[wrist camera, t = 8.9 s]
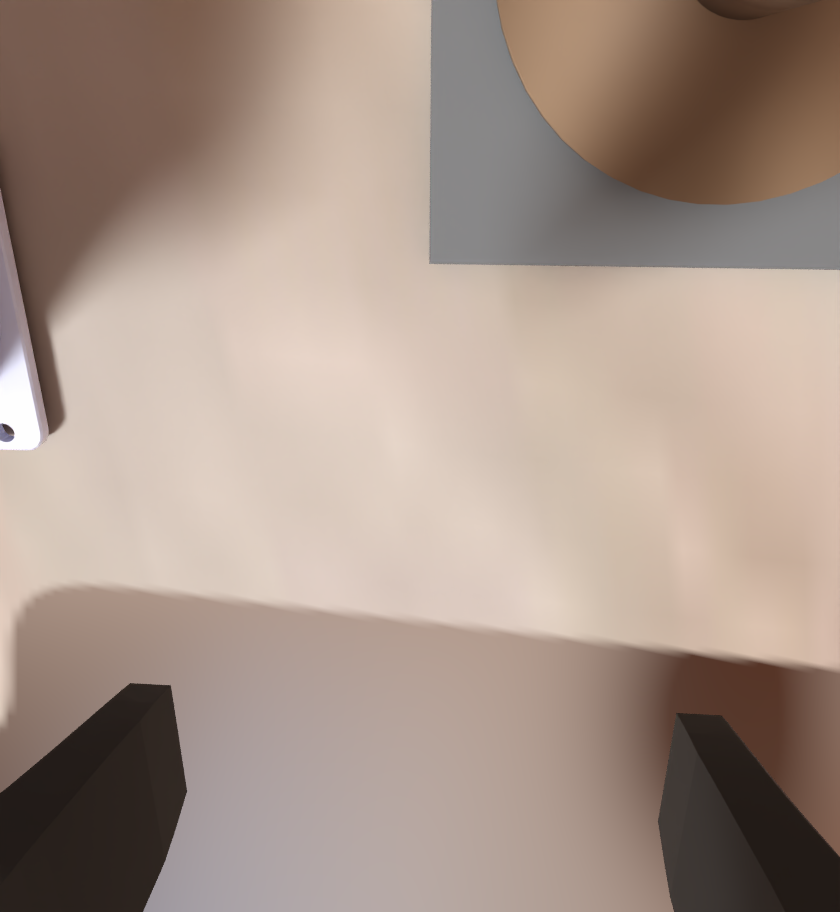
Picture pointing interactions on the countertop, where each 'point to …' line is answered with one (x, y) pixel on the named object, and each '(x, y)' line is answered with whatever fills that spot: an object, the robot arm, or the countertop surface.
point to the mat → (576, 182)
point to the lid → (687, 90)
